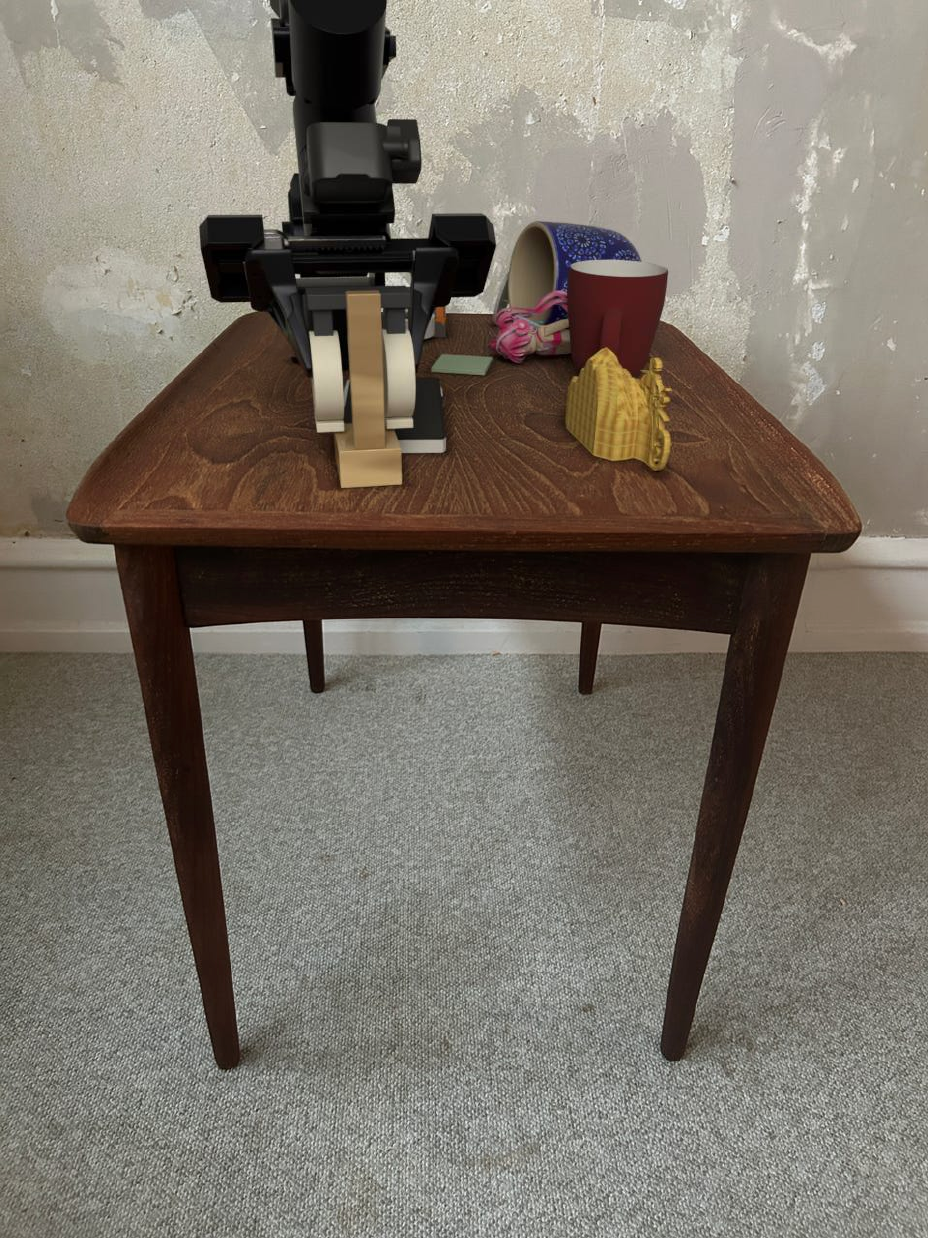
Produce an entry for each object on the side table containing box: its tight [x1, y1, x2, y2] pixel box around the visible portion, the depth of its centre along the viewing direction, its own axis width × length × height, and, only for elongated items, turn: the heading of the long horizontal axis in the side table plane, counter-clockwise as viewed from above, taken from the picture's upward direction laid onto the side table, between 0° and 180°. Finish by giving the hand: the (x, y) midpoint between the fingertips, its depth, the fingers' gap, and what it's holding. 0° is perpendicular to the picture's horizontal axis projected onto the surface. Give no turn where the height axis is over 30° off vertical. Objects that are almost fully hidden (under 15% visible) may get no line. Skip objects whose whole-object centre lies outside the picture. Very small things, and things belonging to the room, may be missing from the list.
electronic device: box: [381, 285, 447, 340], centre depth 95 cm, size 7×3×15 cm
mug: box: [567, 260, 669, 379], centre depth 73 cm, size 10×8×10 cm
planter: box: [508, 220, 643, 330], centre depth 89 cm, size 11×11×11 cm
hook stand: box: [333, 290, 403, 489], centre depth 56 cm, size 6×4×12 cm, turn 11°
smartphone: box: [343, 376, 447, 454], centre depth 68 cm, size 8×1×15 cm
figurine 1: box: [492, 271, 510, 326], centre depth 94 cm, size 6×6×8 cm
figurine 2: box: [564, 347, 673, 472], centre depth 62 cm, size 4×12×7 cm, turn 14°
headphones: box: [305, 285, 416, 433], centre depth 57 cm, size 6×6×9 cm
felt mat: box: [430, 353, 494, 376], centre depth 82 cm, size 5×5×1 cm
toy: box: [486, 290, 571, 364], centre depth 83 cm, size 7×6×15 cm
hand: (362, 372), depth 56 cm, fingers closed on headphones, 6 cm apart
